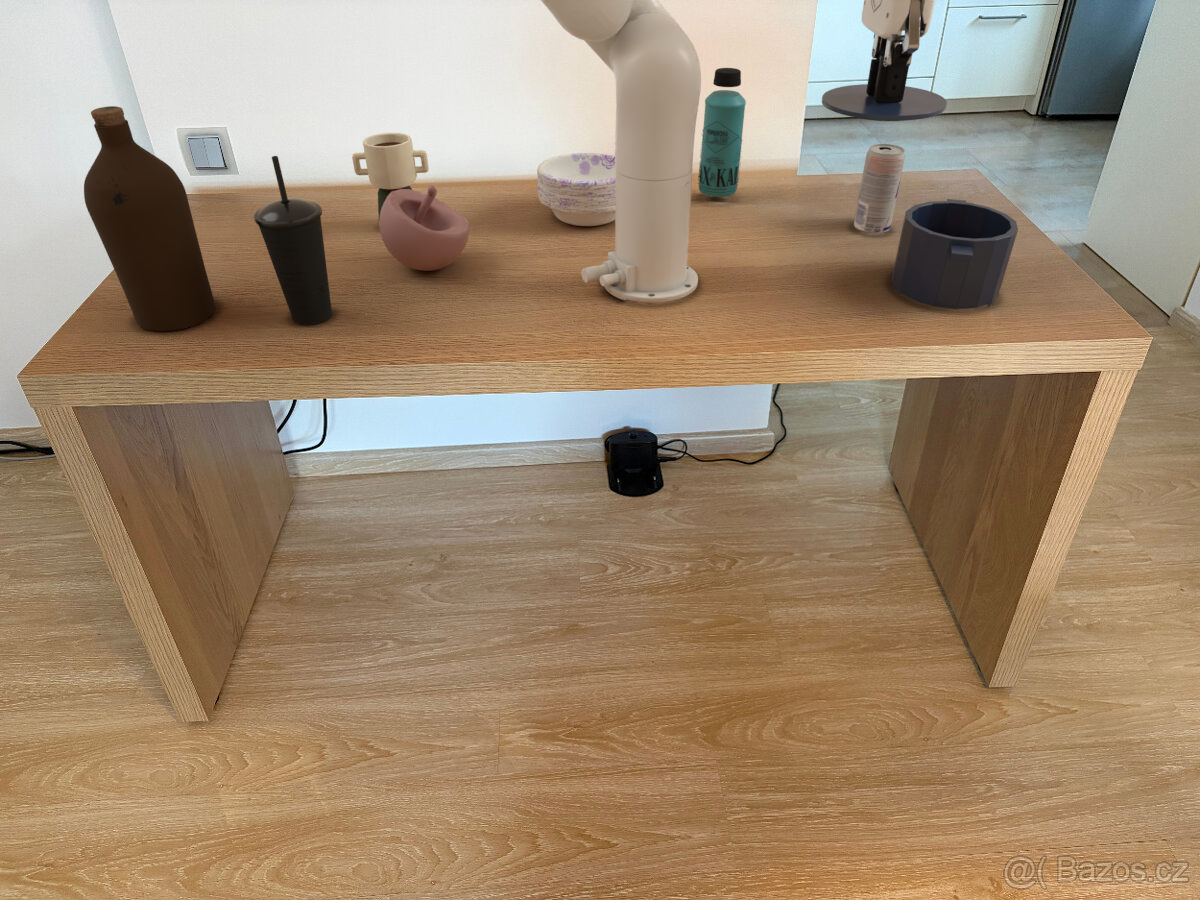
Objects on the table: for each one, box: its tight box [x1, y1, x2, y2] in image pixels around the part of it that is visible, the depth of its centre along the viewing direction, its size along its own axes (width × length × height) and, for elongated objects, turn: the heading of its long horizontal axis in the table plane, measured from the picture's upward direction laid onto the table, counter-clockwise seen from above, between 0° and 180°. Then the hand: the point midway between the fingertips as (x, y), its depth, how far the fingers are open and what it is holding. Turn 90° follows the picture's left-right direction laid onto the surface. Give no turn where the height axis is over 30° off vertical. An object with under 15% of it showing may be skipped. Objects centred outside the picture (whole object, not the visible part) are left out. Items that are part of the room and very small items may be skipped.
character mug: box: [351, 132, 430, 219], centre depth 127 cm, size 11×7×13 cm, turn 96°
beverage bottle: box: [697, 67, 747, 198], centre depth 132 cm, size 6×7×20 cm
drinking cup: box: [253, 155, 333, 326], centre depth 100 cm, size 8×8×20 cm
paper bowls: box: [536, 152, 615, 227], centre depth 130 cm, size 15×15×8 cm
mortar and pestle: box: [378, 185, 470, 272], centre depth 115 cm, size 12×12×12 cm
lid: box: [821, 53, 948, 122], centre depth 99 cm, size 14×14×6 cm
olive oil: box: [83, 105, 216, 332], centre depth 100 cm, size 11×11×25 cm
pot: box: [891, 198, 1019, 310], centre depth 108 cm, size 13×19×10 cm
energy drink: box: [853, 143, 906, 234], centre depth 124 cm, size 5×5×12 cm
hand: (884, 97), depth 100 cm, fingers closed on lid, 2 cm apart
